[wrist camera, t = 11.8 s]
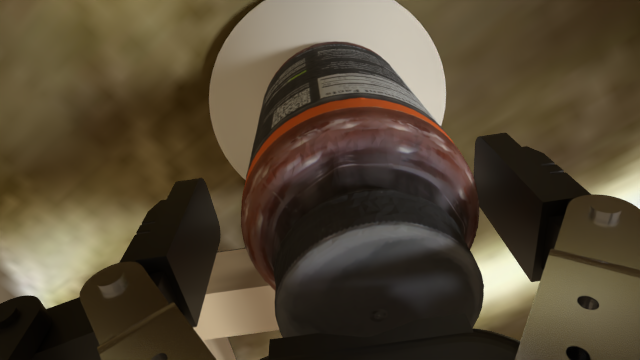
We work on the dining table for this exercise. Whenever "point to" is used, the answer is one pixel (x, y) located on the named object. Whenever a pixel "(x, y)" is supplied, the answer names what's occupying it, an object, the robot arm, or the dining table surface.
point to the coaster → (302, 32)
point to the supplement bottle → (357, 200)
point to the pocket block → (235, 303)
